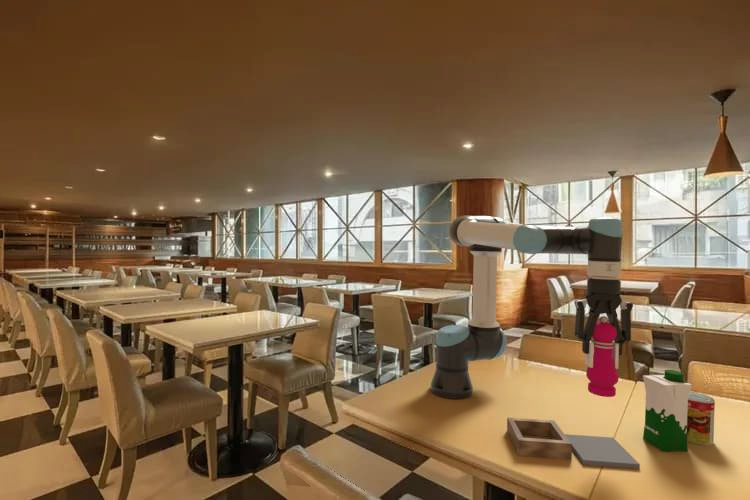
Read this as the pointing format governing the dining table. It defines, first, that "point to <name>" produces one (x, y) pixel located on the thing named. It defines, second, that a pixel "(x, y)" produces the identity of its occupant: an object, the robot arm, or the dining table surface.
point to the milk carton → (666, 411)
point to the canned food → (700, 419)
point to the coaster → (601, 452)
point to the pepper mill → (603, 360)
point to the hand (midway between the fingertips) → (601, 366)
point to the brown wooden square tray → (539, 447)
